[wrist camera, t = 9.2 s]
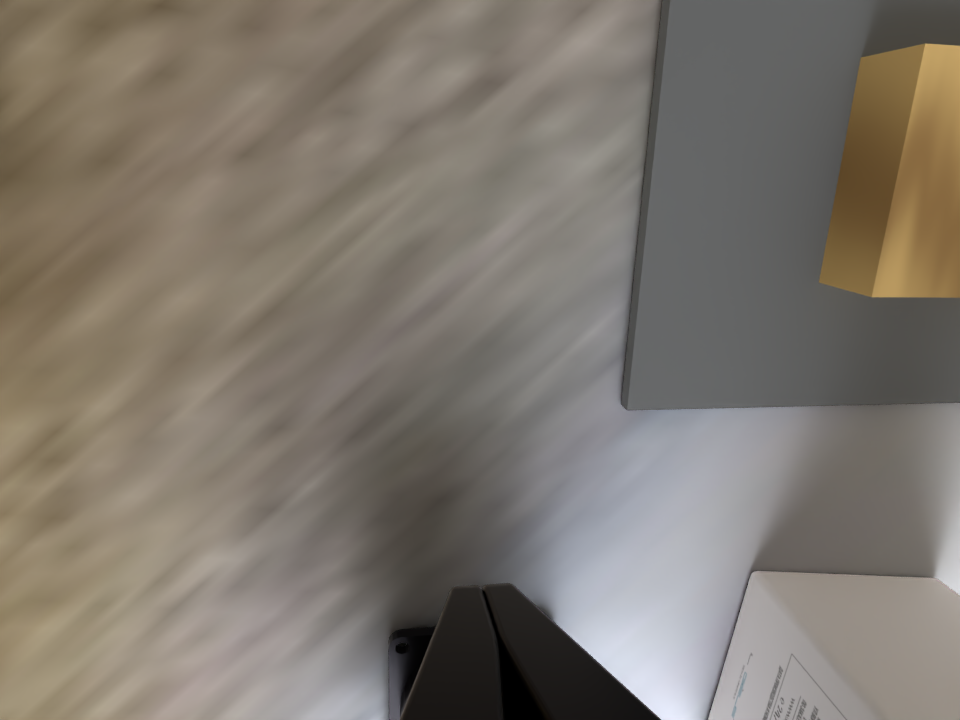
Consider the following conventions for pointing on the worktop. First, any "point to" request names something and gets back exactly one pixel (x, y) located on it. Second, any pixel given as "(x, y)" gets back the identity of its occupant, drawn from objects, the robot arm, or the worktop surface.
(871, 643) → the tall white carton
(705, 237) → the rubber mat
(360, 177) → the worktop surface
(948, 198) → the ochre block
